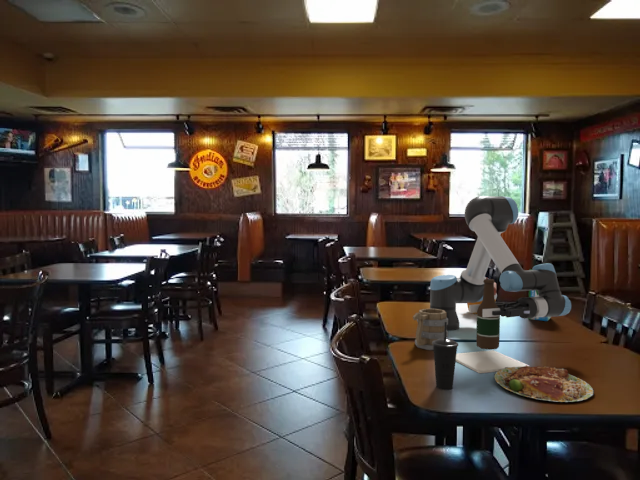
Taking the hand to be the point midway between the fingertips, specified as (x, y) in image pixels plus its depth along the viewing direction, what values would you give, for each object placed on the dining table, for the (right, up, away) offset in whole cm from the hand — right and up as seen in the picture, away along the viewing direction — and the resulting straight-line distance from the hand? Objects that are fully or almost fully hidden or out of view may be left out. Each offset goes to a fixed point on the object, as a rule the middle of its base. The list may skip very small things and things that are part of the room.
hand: (476, 311), depth 176 cm
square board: (+5, -18, +3) cm, 19 cm away
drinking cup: (-17, -20, -23) cm, 35 cm away
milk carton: (+55, -15, +76) cm, 95 cm away
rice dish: (+13, -21, -22) cm, 33 cm away
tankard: (-13, -18, +21) cm, 30 cm away
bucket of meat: (+30, -14, +89) cm, 95 cm away
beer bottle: (+5, -13, +2) cm, 14 cm away
